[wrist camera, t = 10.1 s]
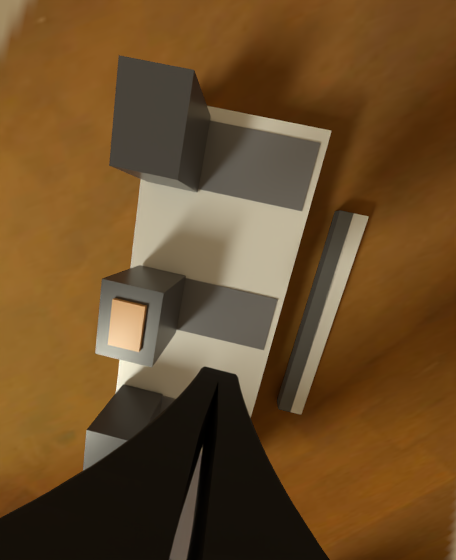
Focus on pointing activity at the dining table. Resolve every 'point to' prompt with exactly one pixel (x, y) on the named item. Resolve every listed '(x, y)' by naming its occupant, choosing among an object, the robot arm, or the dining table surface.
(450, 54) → the dining table surface
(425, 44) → the dining table surface
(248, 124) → the white panel with blocks
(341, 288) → the long grey stick
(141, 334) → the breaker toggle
